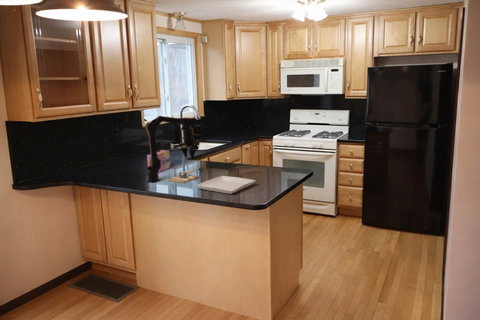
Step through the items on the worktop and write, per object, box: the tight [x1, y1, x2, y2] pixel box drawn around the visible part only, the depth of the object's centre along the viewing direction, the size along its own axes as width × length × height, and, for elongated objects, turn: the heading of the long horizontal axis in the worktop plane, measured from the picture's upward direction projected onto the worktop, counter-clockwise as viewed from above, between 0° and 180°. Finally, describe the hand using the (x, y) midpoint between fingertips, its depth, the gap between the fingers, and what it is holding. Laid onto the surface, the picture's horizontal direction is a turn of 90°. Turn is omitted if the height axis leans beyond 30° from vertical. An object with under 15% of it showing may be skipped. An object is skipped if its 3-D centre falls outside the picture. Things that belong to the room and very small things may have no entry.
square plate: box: [195, 175, 256, 195], centre depth 248 cm, size 27×27×4 cm
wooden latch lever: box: [178, 168, 194, 178], centre depth 274 cm, size 13×5×3 cm, turn 148°
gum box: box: [146, 149, 172, 174], centre depth 306 cm, size 24×8×14 cm, turn 164°
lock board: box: [167, 174, 199, 184], centre depth 272 cm, size 15×14×2 cm
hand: (189, 158), depth 279 cm, fingers open, 9 cm apart
